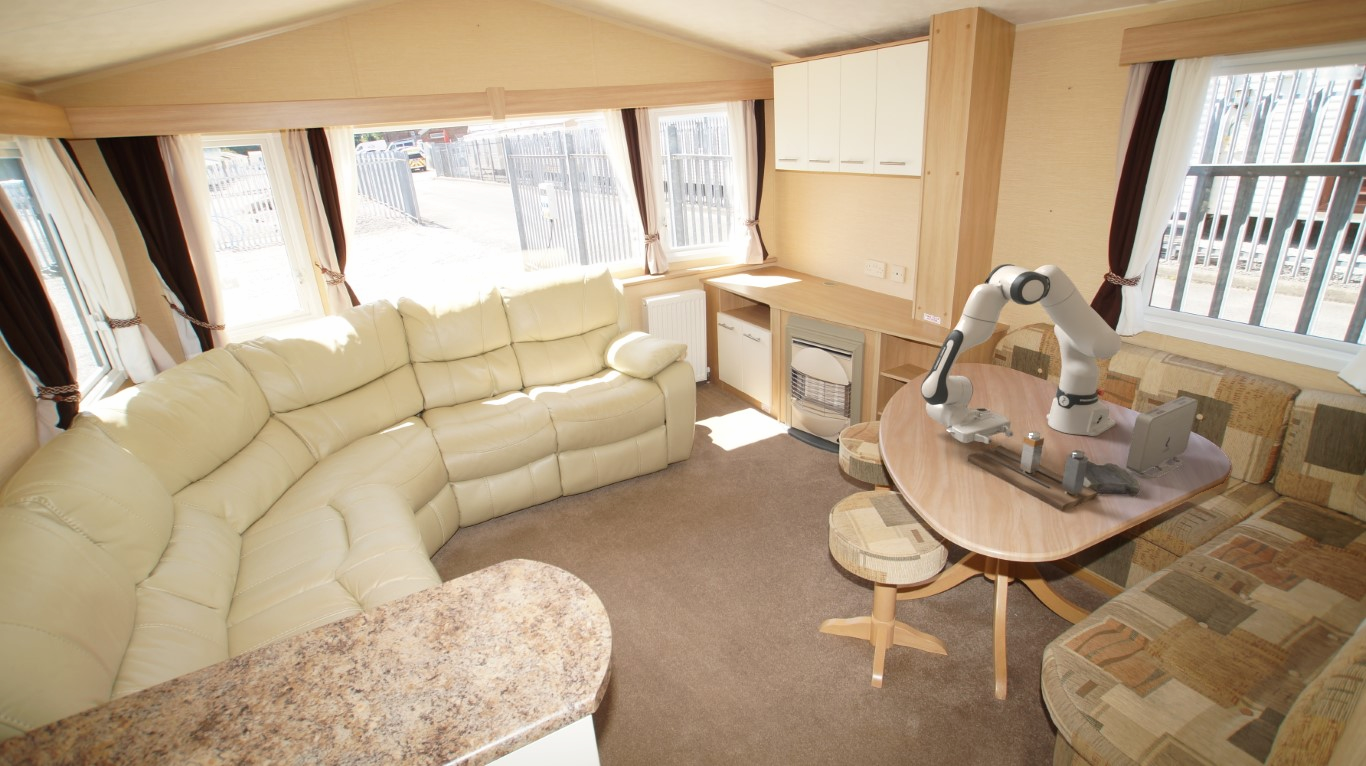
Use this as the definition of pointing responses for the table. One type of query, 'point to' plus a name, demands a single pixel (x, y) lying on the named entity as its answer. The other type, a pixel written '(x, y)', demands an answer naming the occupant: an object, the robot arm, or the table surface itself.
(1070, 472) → the fixed leg
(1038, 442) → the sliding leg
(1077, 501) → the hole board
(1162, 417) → the network device
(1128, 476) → the fossil
